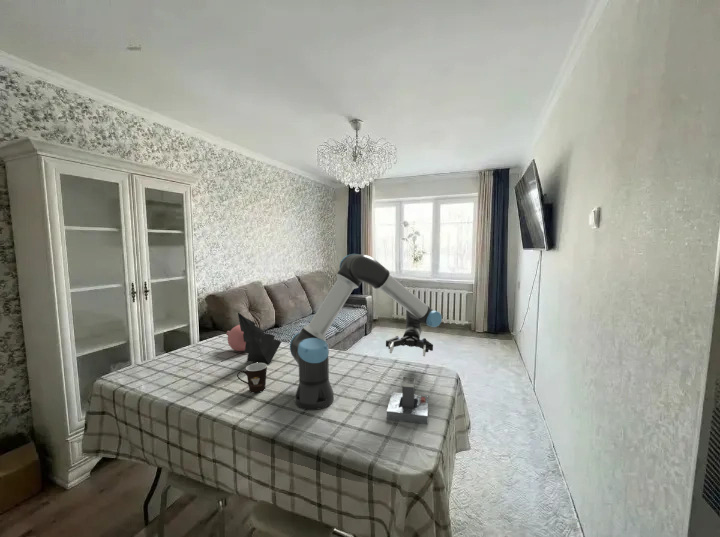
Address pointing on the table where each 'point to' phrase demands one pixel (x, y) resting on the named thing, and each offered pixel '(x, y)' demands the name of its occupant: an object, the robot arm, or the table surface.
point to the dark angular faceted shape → (257, 342)
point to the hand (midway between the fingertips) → (407, 351)
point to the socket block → (405, 414)
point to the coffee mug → (255, 376)
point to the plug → (408, 393)
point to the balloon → (236, 339)
